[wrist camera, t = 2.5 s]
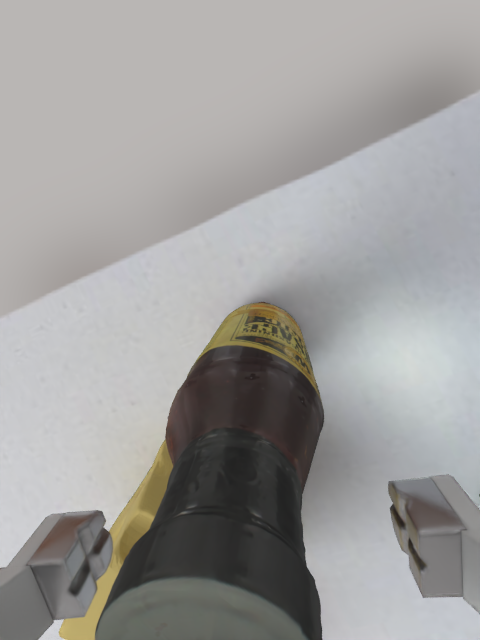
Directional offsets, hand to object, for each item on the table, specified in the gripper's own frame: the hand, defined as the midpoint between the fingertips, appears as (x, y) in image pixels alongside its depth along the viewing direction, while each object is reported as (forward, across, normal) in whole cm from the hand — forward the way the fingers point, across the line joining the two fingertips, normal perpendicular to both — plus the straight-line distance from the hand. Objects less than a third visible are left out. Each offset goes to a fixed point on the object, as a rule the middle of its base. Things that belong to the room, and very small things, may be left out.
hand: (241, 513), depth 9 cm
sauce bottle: (+16, 0, 0) cm, 16 cm away
